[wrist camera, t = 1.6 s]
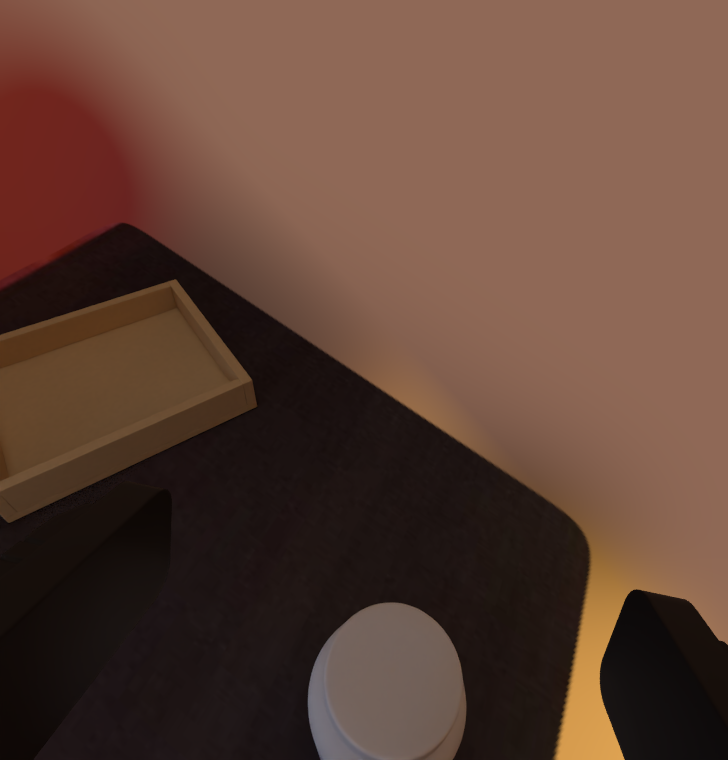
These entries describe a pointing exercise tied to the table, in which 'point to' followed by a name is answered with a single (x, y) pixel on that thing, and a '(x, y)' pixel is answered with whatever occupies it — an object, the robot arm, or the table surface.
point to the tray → (108, 392)
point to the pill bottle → (387, 689)
